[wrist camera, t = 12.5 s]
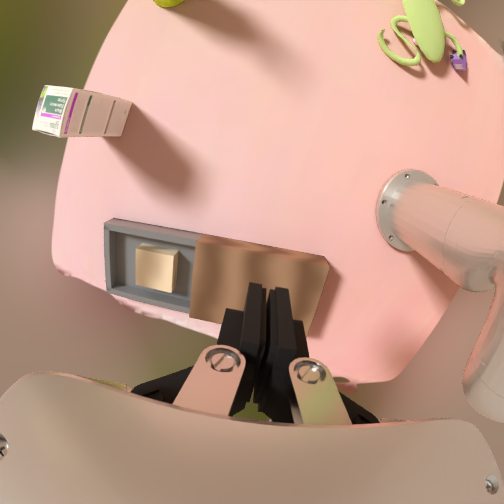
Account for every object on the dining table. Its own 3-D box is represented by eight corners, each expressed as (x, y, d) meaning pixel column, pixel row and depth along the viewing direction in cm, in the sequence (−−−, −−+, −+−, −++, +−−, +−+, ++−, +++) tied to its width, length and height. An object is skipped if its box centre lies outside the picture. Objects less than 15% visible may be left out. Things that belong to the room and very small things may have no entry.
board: (324, 256, 39) (329, 267, 35) (303, 322, 43) (306, 337, 39) (202, 233, 39) (195, 242, 35) (195, 303, 43) (189, 317, 39)
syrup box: (133, 101, 32) (74, 84, 19) (121, 138, 34) (58, 137, 21) (105, 96, 32) (43, 82, 18) (94, 131, 34) (30, 131, 20)
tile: (135, 248, 37) (142, 243, 39) (135, 284, 39) (141, 277, 41) (173, 256, 37) (178, 250, 39) (171, 293, 39) (176, 285, 41)
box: (202, 233, 39) (197, 240, 36) (195, 303, 43) (190, 313, 40) (113, 218, 39) (103, 222, 36) (114, 284, 43) (106, 292, 40)
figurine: (447, -11, 19) (460, -20, 14) (466, 95, 28) (485, 92, 23) (363, -47, 19) (372, -62, 14) (375, 58, 28) (390, 47, 23)
